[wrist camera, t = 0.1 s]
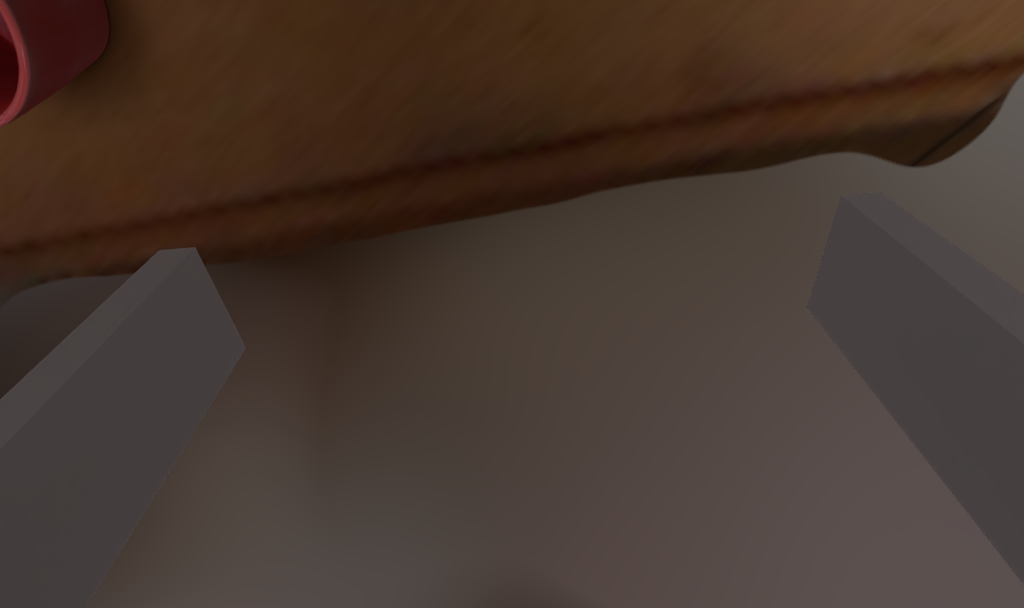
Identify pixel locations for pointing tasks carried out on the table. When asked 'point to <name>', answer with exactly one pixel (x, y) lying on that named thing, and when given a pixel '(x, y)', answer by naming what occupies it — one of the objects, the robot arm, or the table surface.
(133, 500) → the robot arm
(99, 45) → the flower pot
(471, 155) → the table surface
